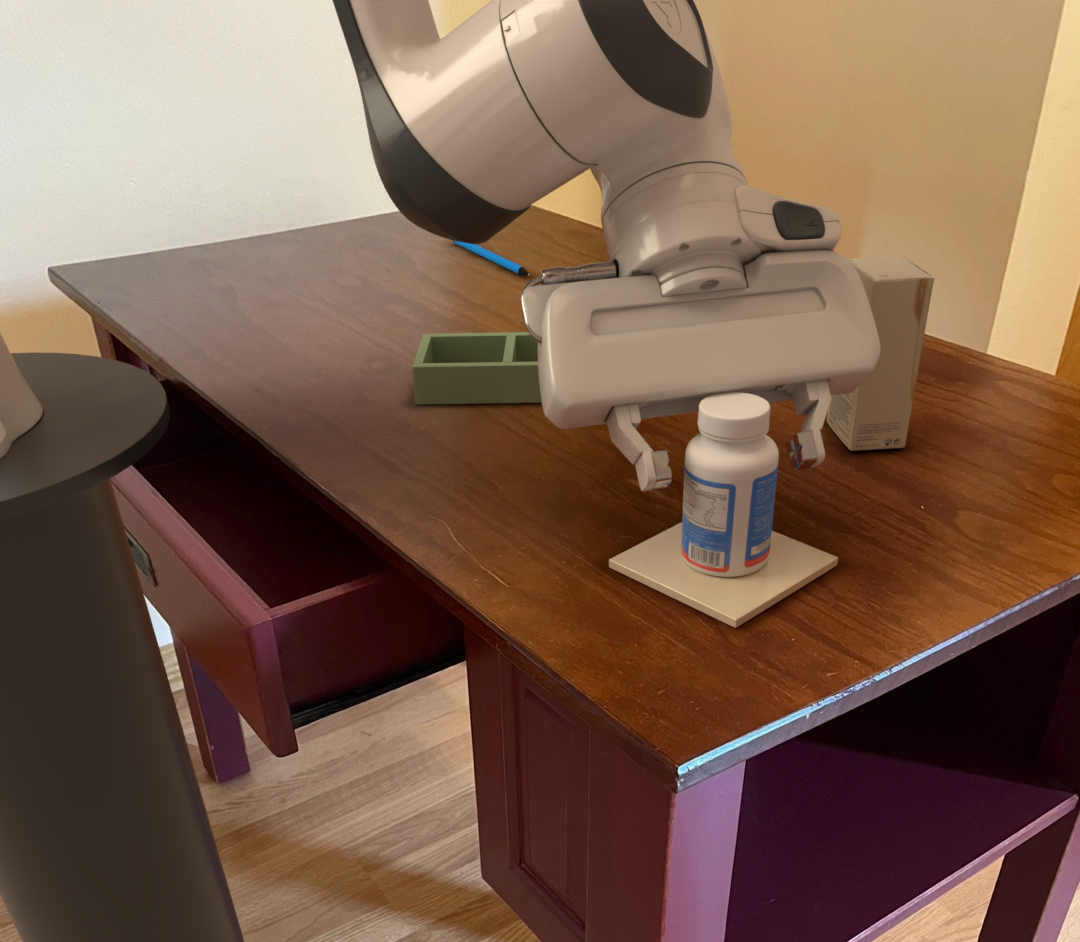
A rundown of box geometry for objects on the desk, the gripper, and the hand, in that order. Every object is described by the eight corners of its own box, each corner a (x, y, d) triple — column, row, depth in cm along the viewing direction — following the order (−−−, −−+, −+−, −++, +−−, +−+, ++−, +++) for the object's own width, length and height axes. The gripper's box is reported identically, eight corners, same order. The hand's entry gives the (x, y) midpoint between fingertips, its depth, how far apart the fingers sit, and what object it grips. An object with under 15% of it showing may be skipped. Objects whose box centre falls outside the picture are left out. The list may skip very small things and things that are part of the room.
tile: (735, 628, 62) (736, 619, 61) (608, 567, 67) (608, 559, 67) (837, 565, 67) (838, 557, 67) (711, 514, 73) (712, 505, 72)
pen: (455, 240, 130) (454, 230, 129) (533, 278, 117) (532, 267, 116) (448, 241, 130) (447, 231, 129) (525, 279, 116) (525, 268, 116)
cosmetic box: (906, 450, 80) (939, 278, 72) (848, 454, 80) (875, 281, 72) (878, 416, 85) (906, 252, 78) (823, 420, 85) (846, 255, 77)
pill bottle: (751, 532, 69) (767, 383, 63) (781, 574, 65) (800, 418, 59) (668, 541, 69) (676, 391, 63) (692, 584, 64) (703, 427, 58)
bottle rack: (602, 402, 89) (602, 363, 87) (415, 405, 89) (411, 366, 87) (600, 367, 95) (601, 330, 93) (426, 370, 96) (423, 333, 94)
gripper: (522, 240, 59) (571, 480, 58) (863, 208, 63) (918, 433, 62) (507, 300, 66) (551, 518, 64) (818, 268, 69) (867, 473, 68)
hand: (734, 476), depth 63 cm, fingers open, 8 cm apart
